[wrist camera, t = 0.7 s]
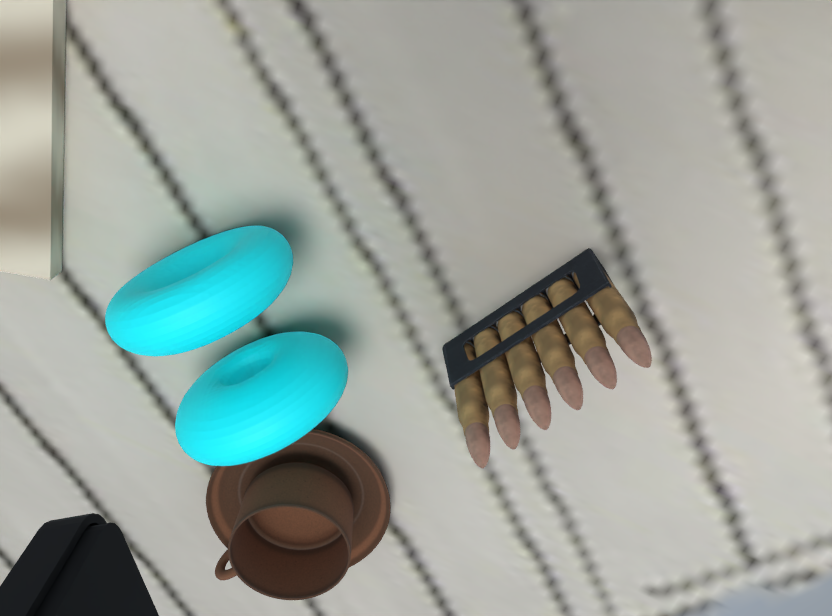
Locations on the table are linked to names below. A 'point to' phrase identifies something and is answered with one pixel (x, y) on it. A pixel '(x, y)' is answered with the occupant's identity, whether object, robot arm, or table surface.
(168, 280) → the donuts
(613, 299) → the ammunition clip
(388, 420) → the table surface
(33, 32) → the beige wavy cloth
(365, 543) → the cup and saucer
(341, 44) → the table surface
